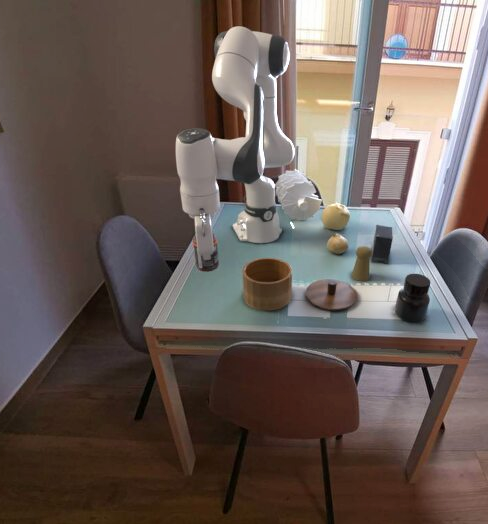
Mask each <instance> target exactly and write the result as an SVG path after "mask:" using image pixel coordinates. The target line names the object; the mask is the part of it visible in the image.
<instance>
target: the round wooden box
mask: <svg viewBox="0 0 488 524" xmlns="http://www.w3.org/2000/svg"><path fill="white" fill-rule="evenodd" d="M241 273H242V290H243V291H242V292H243V293H242V294H243V300H244V302H245V304H246V305H247V306H249V307H250V308H252V309H255V310H259V311H265V312H267V311H268V312H269V311H277V310H279V309H282V308H284V307H286V306H287V305H288V304H289V303H290V302H291V300H292V291H293V290H292V289H293V268H292V265H291V264H289V263H288V262H287V261H285V260H282V259H279V258H275V257H261V258H255V259H253V260H251V261H249V262H247V263H246V264H245V265H244V266H243V268H242V271H241Z"/></svg>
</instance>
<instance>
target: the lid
mask: <svg viewBox="0 0 488 524" xmlns="http://www.w3.org/2000/svg"><path fill="white" fill-rule="evenodd" d="M305 296H306V299H307V300H308V301H309V302H310V303H311V304H312V305H313V306H315V307H317V308H319V309H321V310H322V309H323V310H327V311H343V310H346V309H349V308H350V307H352V306H353V305H355V303H356V302H357V298H358V294H357V292H356V290H355V288H353V287H352V286H351V285H350V284H349V283H347V282H344V281H341V280H338V279H333V278H332V279H331V278H324V279H319V280H316V281H313V282H312V283H310V284H309V285H308V286H307V288H306V291H305Z"/></svg>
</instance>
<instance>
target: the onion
mask: <svg viewBox="0 0 488 524" xmlns="http://www.w3.org/2000/svg"><path fill="white" fill-rule="evenodd" d="M326 245H327V249H328V250H329V252H330V253H333V254H336V255H342V254H344V253H345V252H347V251H348V249H349V242H348V240H347V239H346V238H345V237H344V236H343V235H341V234H340V233H333V234H332V236H331V237H330V238H329V239H328V240H327V244H326Z"/></svg>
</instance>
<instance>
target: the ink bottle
mask: <svg viewBox="0 0 488 524" xmlns="http://www.w3.org/2000/svg"><path fill="white" fill-rule="evenodd" d="M431 283H432V282H431V280H430V278H429V277H428V276H425V275H424V274H421V273H413V272H412V273H409V274H407V275H406V276H405V278H404V283H403V287H402V288H401V289H399V291H398V293H397V297H396V302H395V306H394V312H395V314H396V315H397V316H398V318H400V319H401V320H403V321H404V322H409V323H420V322H422V321H424V320H425V319H426V316H427V313H428V309H429V306H430V302H431V299H430V295H429V290H430V287H431Z"/></svg>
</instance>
